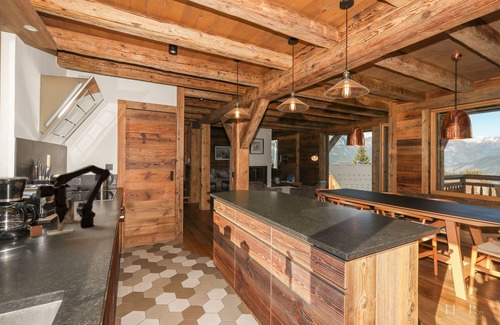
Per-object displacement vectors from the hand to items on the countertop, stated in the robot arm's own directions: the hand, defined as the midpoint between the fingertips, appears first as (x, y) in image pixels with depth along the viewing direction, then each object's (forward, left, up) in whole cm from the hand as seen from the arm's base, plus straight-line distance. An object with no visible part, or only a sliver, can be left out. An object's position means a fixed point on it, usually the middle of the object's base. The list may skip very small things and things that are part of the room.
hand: (60, 222), depth 140 cm
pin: (0, 0, -5) cm, 5 cm away
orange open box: (+11, -3, -6) cm, 13 cm away
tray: (0, 0, -6) cm, 6 cm away
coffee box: (-6, -26, -7) cm, 28 cm away
